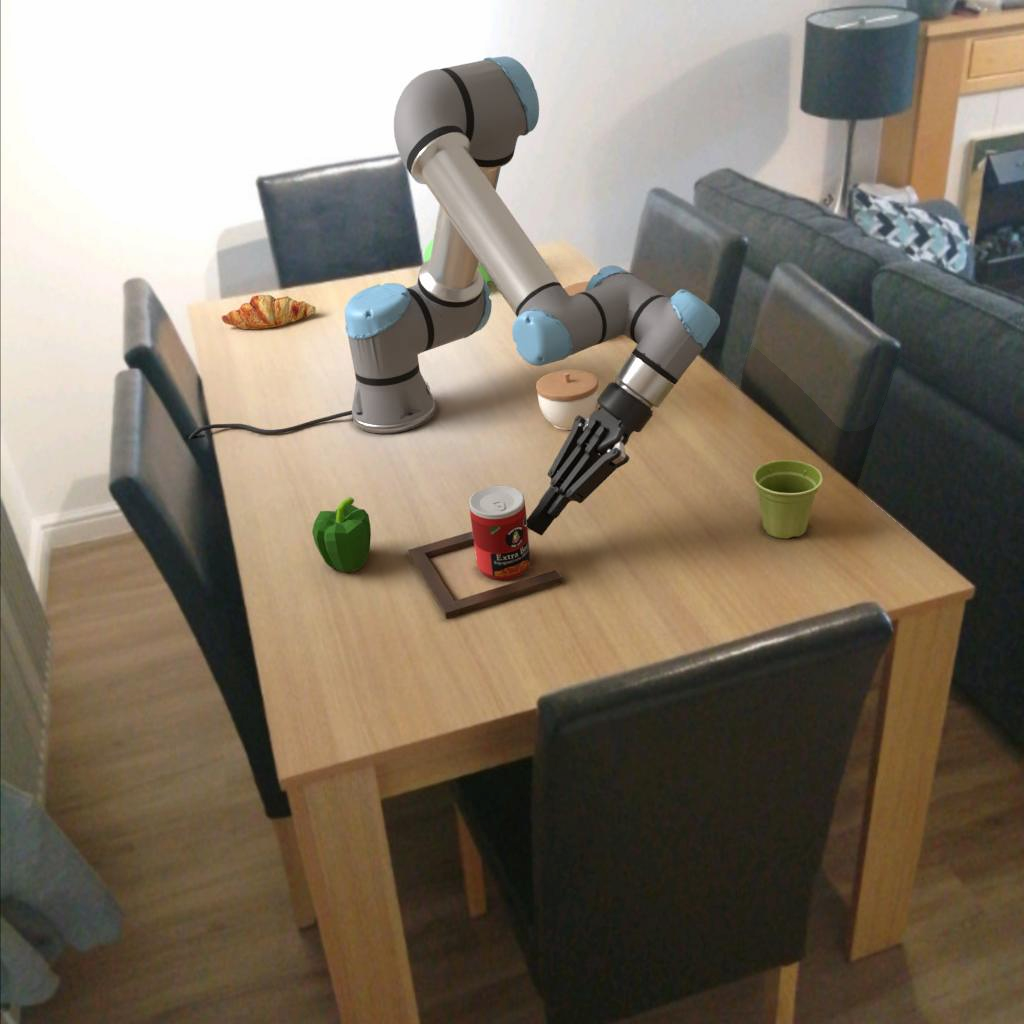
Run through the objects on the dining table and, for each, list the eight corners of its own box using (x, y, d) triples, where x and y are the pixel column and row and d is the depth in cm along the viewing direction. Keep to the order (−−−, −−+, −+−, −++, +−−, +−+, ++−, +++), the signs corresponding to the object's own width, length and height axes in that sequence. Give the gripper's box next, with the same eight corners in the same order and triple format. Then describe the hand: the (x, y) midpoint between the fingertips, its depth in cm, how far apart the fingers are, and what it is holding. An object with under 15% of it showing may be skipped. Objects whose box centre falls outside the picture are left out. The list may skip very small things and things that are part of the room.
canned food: (497, 588, 143) (489, 521, 137) (466, 563, 149) (457, 498, 143) (542, 566, 147) (536, 500, 141) (510, 543, 152) (503, 478, 146)
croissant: (319, 325, 243) (313, 291, 243) (316, 319, 233) (311, 284, 233) (227, 337, 241) (221, 302, 240) (221, 332, 231) (215, 296, 230)
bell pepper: (328, 585, 147) (315, 526, 142) (314, 557, 154) (301, 499, 148) (384, 568, 150) (374, 509, 144) (368, 541, 156) (357, 483, 151)
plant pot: (805, 552, 144) (810, 499, 139) (741, 536, 149) (743, 484, 144) (827, 519, 151) (831, 467, 146) (764, 505, 155) (767, 454, 150)
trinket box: (595, 437, 178) (593, 387, 173) (534, 436, 180) (530, 386, 175) (603, 408, 187) (601, 360, 182) (544, 408, 189) (541, 360, 184)
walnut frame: (515, 524, 157) (515, 518, 156) (562, 582, 143) (561, 576, 142) (408, 555, 152) (407, 549, 151) (446, 619, 138) (445, 613, 138)
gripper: (674, 425, 140) (570, 562, 144) (629, 390, 151) (533, 518, 155) (638, 399, 136) (532, 541, 140) (594, 365, 146) (496, 498, 150)
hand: (533, 529), depth 147 cm, fingers closed
